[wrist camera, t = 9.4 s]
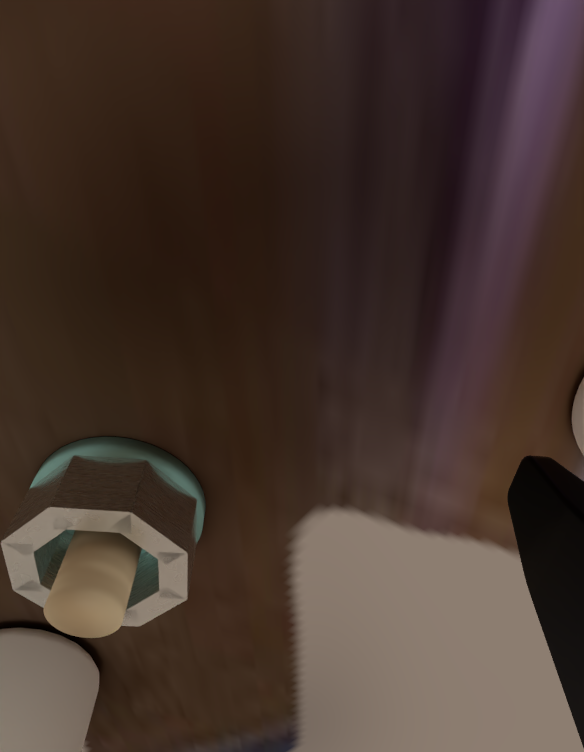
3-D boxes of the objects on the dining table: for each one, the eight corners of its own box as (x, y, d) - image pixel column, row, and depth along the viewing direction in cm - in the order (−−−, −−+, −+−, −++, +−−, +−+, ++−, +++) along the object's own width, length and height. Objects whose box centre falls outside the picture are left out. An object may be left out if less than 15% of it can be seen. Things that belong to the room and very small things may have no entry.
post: (207, 443, 25) (188, 552, 20) (203, 561, 29) (187, 675, 24) (22, 430, 24) (-47, 539, 19) (46, 552, 28) (-5, 667, 23)
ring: (197, 463, 24) (187, 515, 21) (195, 573, 28) (187, 628, 25) (21, 451, 23) (-10, 503, 21) (45, 565, 27) (21, 620, 25)
